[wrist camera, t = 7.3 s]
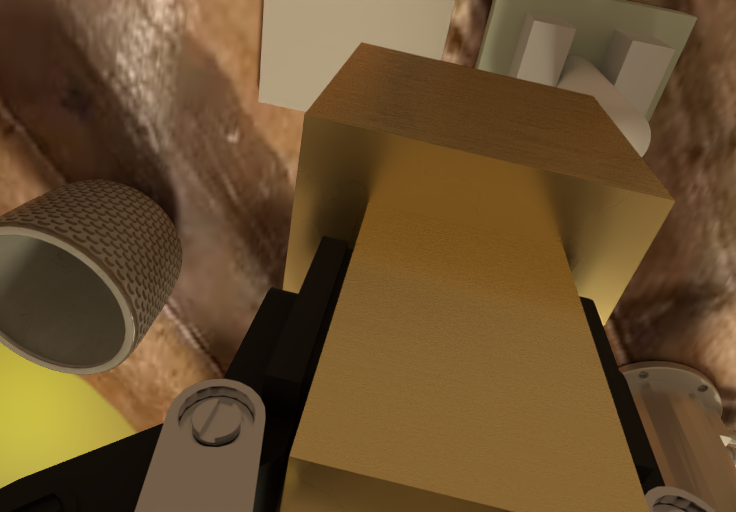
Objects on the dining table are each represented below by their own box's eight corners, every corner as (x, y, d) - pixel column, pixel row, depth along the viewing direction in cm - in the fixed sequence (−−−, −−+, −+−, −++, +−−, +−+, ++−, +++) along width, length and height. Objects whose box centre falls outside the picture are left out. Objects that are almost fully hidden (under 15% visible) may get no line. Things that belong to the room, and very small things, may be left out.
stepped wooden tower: (593, 95, 16) (911, 501, 5) (513, 283, 19) (586, 747, 9) (361, 42, 16) (145, 315, 5) (327, 239, 20) (164, 641, 9)
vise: (680, 11, 35) (806, 58, 22) (616, 153, 40) (689, 257, 27) (499, -26, 35) (522, 0, 22) (460, 120, 40) (460, 207, 28)
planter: (104, 122, 45) (-11, 184, 34) (235, 227, 49) (169, 313, 38) (42, 222, 52) (-70, 301, 41) (162, 308, 55) (88, 402, 44)
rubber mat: (468, -59, 34) (468, -59, 34) (424, 132, 41) (423, 136, 40) (273, -98, 35) (269, -98, 34) (262, 98, 42) (258, 101, 41)
